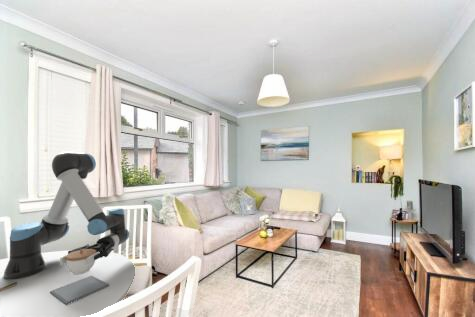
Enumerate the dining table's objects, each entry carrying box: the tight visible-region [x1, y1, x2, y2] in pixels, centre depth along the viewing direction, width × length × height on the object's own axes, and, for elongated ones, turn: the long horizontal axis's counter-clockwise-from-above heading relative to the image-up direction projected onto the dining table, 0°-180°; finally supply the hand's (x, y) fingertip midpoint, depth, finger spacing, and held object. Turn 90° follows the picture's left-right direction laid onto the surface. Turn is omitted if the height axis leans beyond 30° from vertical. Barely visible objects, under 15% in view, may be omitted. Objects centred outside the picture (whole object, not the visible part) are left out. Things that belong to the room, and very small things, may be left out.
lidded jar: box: [66, 249, 96, 276], centre depth 97 cm, size 11×11×9 cm
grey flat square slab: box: [49, 275, 110, 306], centre depth 96 cm, size 16×16×1 cm
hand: (74, 261), depth 93 cm, fingers closed on lidded jar, 11 cm apart
